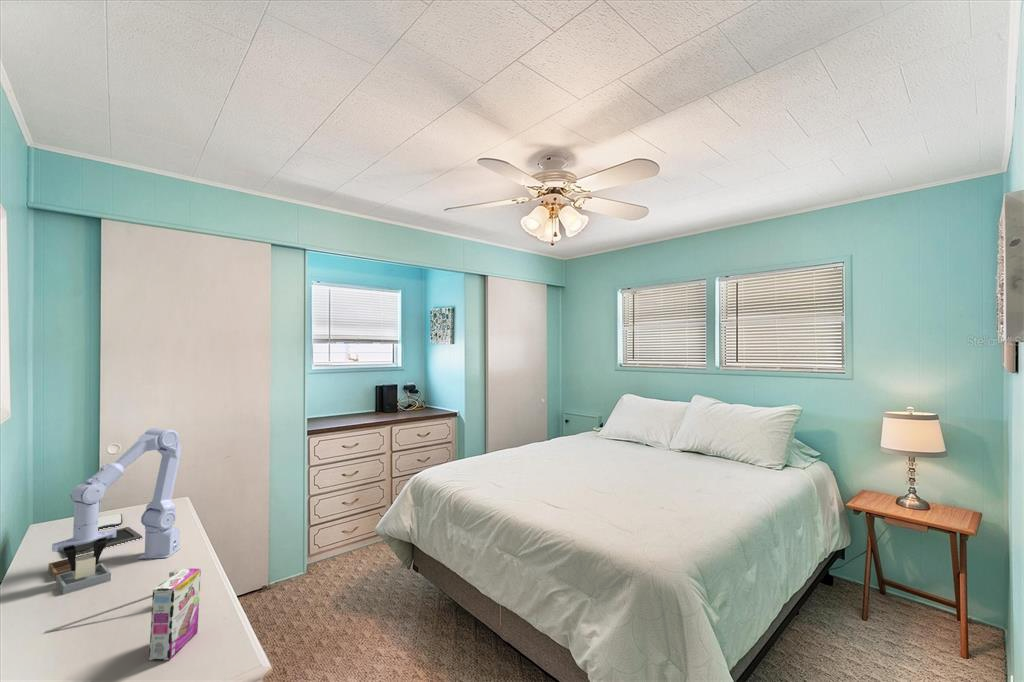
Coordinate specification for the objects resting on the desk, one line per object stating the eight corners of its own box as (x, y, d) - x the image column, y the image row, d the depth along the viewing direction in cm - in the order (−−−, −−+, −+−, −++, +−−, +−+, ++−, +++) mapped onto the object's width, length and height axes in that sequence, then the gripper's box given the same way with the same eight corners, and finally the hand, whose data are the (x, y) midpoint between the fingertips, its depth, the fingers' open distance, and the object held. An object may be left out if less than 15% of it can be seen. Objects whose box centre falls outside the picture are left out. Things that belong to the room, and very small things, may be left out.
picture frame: (66, 559, 158) (142, 540, 175) (67, 554, 158) (142, 535, 175) (55, 548, 167) (128, 530, 184) (56, 542, 167) (128, 525, 184)
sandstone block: (95, 573, 143) (95, 557, 143) (75, 579, 139) (76, 562, 139) (91, 569, 145) (92, 553, 145) (72, 574, 142) (72, 558, 142)
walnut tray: (100, 568, 150) (100, 561, 151) (54, 581, 142) (55, 573, 142) (92, 559, 157) (92, 552, 157) (48, 571, 148) (48, 563, 148)
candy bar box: (170, 661, 106) (173, 589, 107) (148, 662, 106) (150, 590, 106) (199, 632, 117) (201, 567, 118) (179, 632, 117) (181, 567, 117)
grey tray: (110, 580, 143) (111, 572, 143) (63, 594, 134) (63, 586, 134) (101, 570, 149) (102, 563, 149) (56, 583, 141) (56, 575, 141)
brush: (52, 645, 119) (47, 609, 119) (181, 600, 133) (176, 567, 133) (47, 652, 116) (41, 614, 116) (179, 604, 130) (174, 571, 130)
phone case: (94, 521, 194) (93, 532, 182) (95, 517, 194) (93, 528, 182) (122, 517, 199) (122, 527, 187) (122, 513, 200) (122, 523, 187)
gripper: (112, 513, 151) (111, 555, 150) (50, 526, 139) (48, 571, 139) (118, 518, 146) (117, 561, 146) (55, 532, 135) (53, 579, 134)
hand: (84, 567), depth 142 cm, fingers closed on sandstone block, 4 cm apart
